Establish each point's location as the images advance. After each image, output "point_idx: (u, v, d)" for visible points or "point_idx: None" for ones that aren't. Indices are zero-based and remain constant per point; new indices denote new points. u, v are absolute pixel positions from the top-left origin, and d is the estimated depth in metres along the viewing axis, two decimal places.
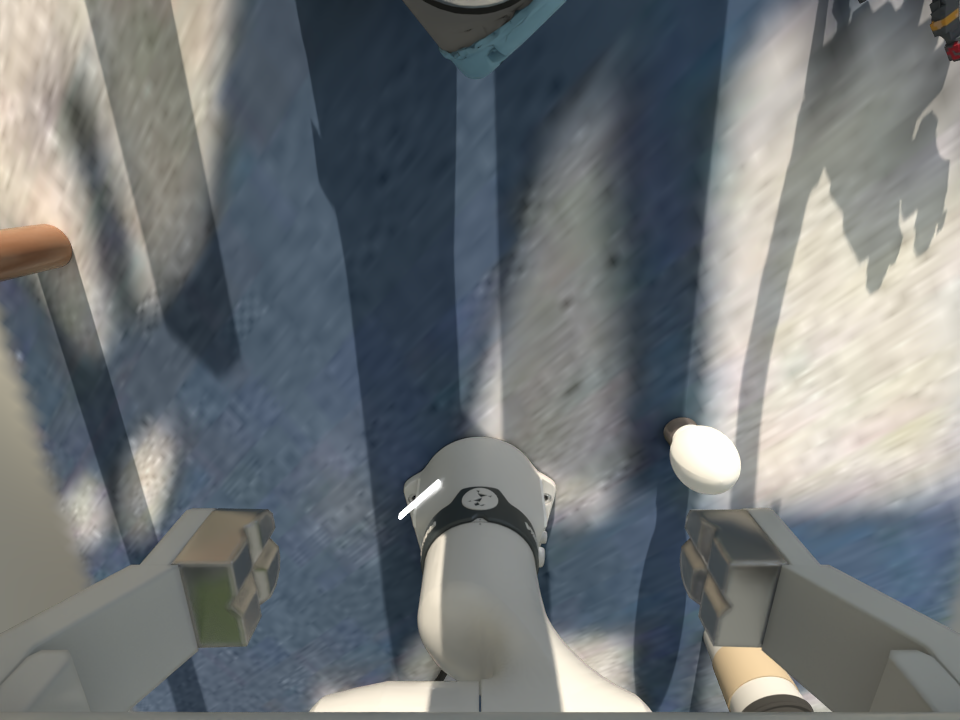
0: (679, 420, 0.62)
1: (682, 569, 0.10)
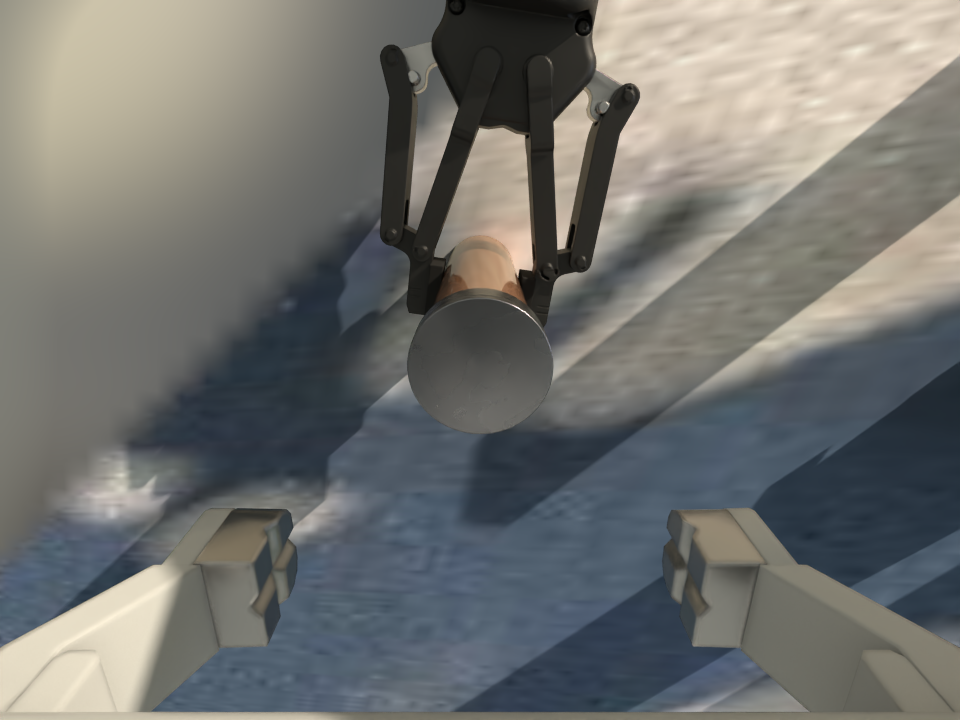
0: None
1: (664, 569, 0.10)
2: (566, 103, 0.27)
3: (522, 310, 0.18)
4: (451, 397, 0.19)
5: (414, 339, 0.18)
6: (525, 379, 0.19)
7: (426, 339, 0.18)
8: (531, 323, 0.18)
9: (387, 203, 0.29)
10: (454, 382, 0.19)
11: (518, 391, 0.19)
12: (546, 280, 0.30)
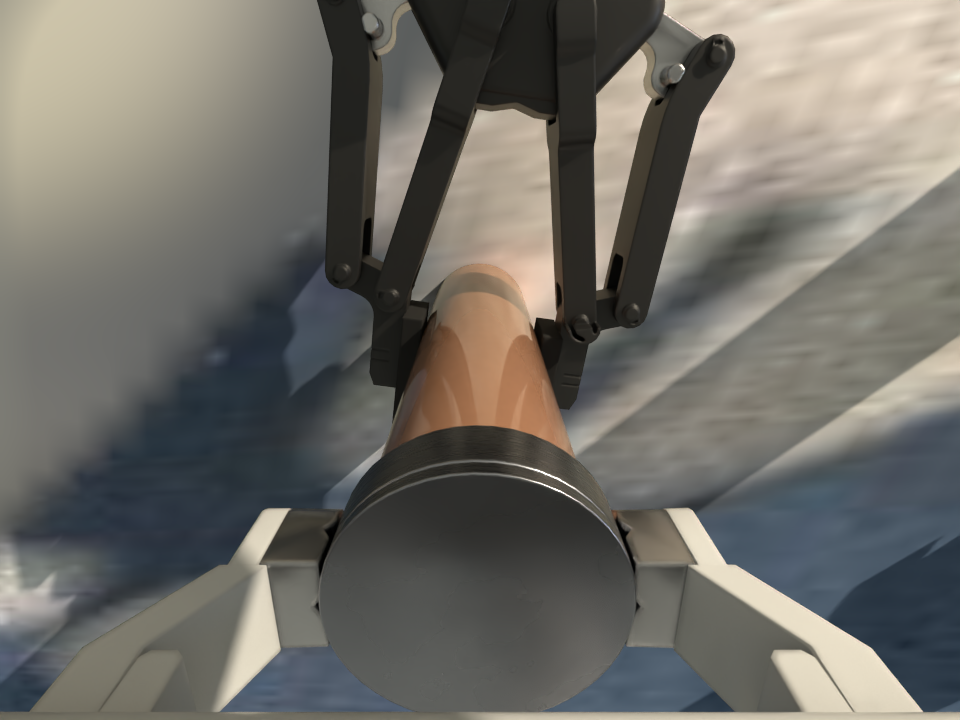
0: None
1: None
2: (615, 67, 0.17)
3: (573, 497, 0.08)
4: (416, 660, 0.09)
5: (330, 555, 0.08)
6: (575, 629, 0.09)
7: (357, 555, 0.08)
8: (593, 524, 0.08)
9: (335, 225, 0.19)
10: (421, 634, 0.09)
11: (559, 650, 0.09)
12: (579, 342, 0.19)
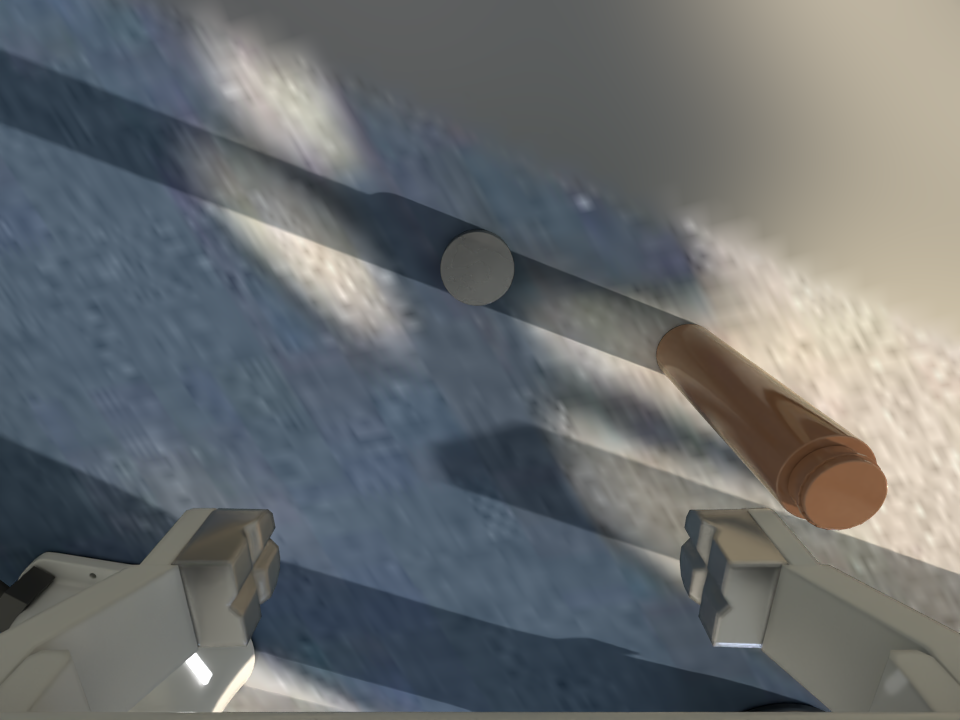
0: None
1: (682, 569, 0.10)
2: None
3: (513, 263, 0.37)
4: (455, 269, 0.37)
5: (465, 234, 0.36)
6: (489, 289, 0.38)
7: (470, 238, 0.37)
8: (512, 271, 0.37)
9: None
10: (462, 265, 0.37)
11: (482, 291, 0.38)
12: None
